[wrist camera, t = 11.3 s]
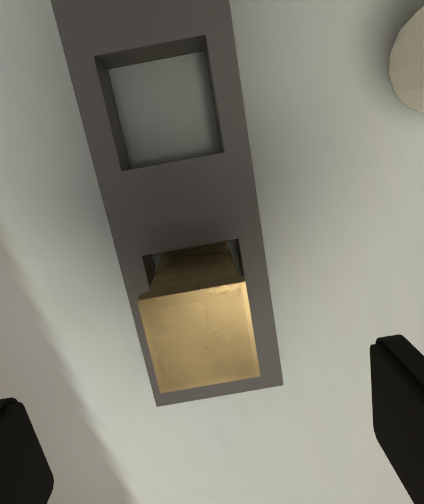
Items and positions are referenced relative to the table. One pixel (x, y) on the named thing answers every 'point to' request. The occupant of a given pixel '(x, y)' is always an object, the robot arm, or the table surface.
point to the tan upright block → (198, 320)
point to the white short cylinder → (409, 63)
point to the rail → (173, 173)
